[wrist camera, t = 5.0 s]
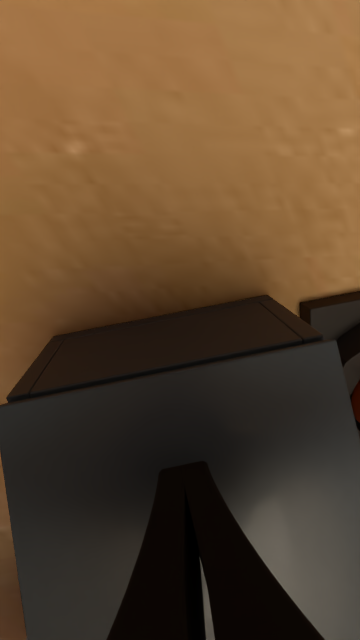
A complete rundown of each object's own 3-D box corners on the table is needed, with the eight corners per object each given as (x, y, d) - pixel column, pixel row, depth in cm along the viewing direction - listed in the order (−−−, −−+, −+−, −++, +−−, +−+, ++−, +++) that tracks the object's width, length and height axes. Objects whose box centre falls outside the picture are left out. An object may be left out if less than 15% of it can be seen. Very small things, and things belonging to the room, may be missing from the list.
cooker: (282, 474, 21) (328, 566, 16) (111, 510, 21) (97, 617, 15) (268, 294, 17) (324, 334, 11) (52, 336, 17) (5, 397, 11)
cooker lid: (421, 744, 10) (441, 777, 10) (67, 827, 10) (58, 869, 9) (325, 339, 11) (336, 339, 11) (5, 402, 11) (-8, 407, 10)
